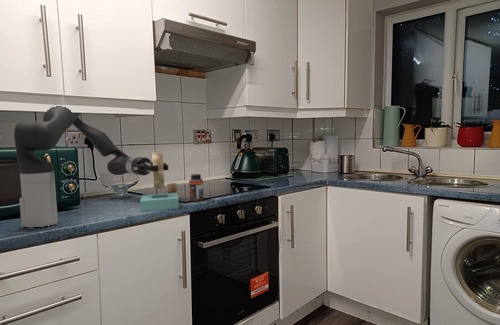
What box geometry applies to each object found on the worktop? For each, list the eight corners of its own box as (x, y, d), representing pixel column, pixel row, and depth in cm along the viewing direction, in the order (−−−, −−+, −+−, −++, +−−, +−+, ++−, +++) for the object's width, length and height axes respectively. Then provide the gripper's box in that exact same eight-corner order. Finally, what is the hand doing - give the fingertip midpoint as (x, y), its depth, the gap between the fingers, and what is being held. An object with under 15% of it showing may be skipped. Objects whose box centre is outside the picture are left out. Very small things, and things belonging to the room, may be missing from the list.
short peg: (168, 200, 144) (167, 184, 143) (167, 199, 148) (167, 183, 147) (177, 200, 145) (176, 184, 144) (177, 198, 149) (176, 183, 148)
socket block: (140, 211, 124) (140, 201, 124) (143, 204, 138) (142, 194, 137) (179, 208, 127) (178, 198, 127) (177, 201, 141) (177, 192, 141)
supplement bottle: (187, 200, 143) (185, 174, 142) (198, 198, 147) (197, 173, 146) (195, 202, 139) (194, 175, 138) (206, 200, 143) (205, 174, 142)
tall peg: (153, 188, 130) (152, 152, 129) (154, 187, 134) (152, 152, 132) (164, 188, 131) (162, 152, 130) (164, 186, 135) (162, 152, 133)
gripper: (122, 158, 135) (145, 159, 124) (153, 155, 146) (177, 157, 135) (123, 176, 136) (146, 179, 125) (153, 172, 147) (177, 175, 135)
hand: (162, 168), depth 130 cm, fingers closed on tall peg, 4 cm apart
